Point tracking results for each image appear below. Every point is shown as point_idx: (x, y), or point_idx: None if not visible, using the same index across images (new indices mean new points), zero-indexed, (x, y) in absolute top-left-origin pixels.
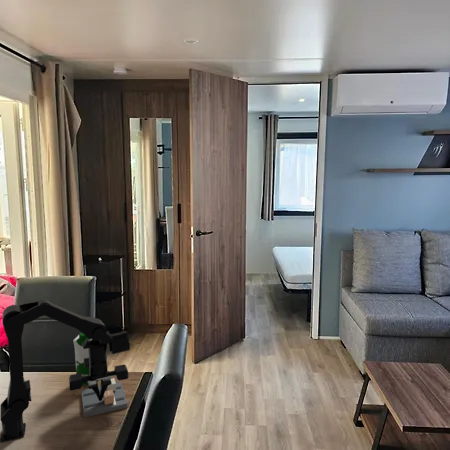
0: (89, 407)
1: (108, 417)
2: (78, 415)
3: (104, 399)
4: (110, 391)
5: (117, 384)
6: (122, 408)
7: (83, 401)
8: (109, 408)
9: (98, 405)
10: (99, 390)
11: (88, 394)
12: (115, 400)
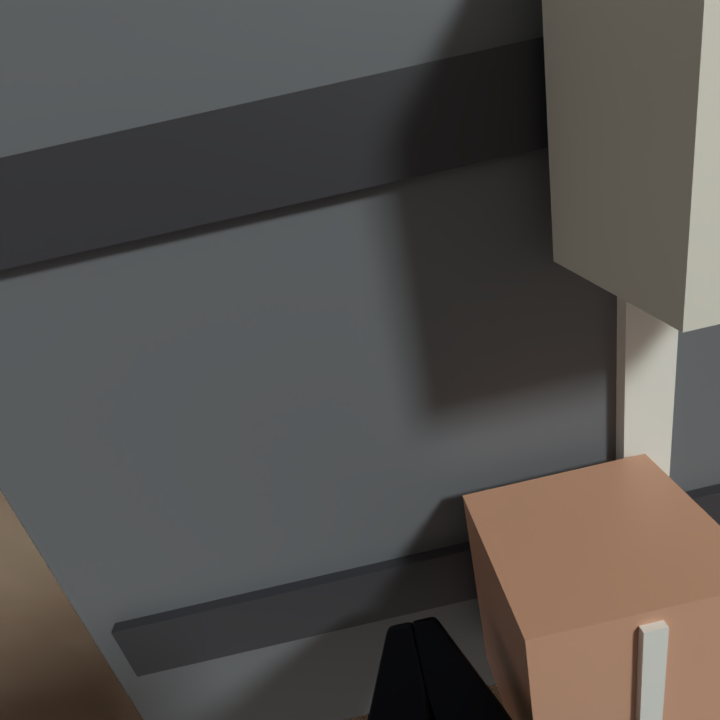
0: (220, 655)
1: (499, 697)
2: (80, 648)
3: (508, 701)
4: (710, 654)
5: None
6: None
7: (24, 492)
8: None
9: (369, 621)
10: (315, 44)
11: (36, 251)
12: None
